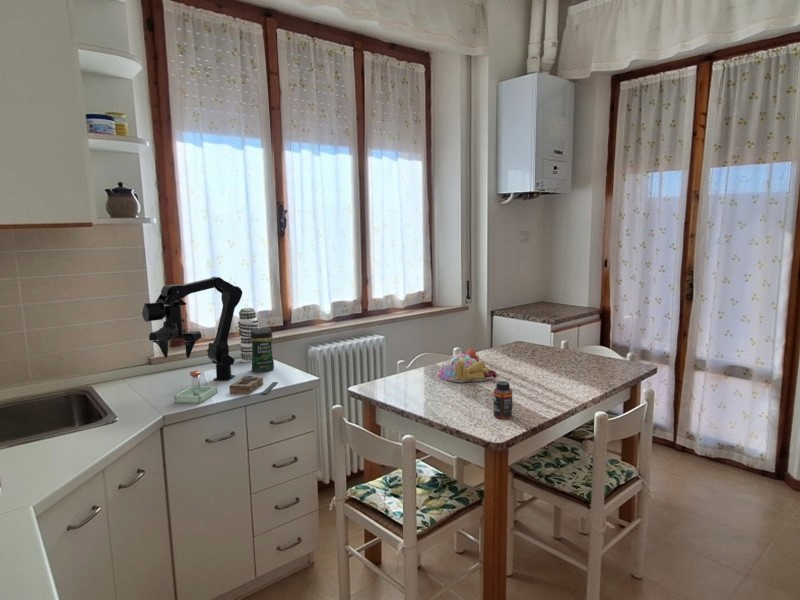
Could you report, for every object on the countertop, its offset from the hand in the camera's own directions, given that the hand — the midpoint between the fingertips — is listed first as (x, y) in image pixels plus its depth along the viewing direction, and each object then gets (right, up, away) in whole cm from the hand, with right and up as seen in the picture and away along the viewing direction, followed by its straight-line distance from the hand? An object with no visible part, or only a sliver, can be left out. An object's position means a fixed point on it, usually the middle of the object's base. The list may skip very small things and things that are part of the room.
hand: (177, 357), depth 190 cm
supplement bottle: (+120, -16, -32) cm, 125 cm away
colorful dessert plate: (+114, -9, +15) cm, 115 cm away
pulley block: (+27, -12, +2) cm, 29 cm away
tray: (+11, -14, -8) cm, 19 cm away
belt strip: (+36, -12, +1) cm, 38 cm away
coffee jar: (+26, -9, +28) cm, 39 cm away
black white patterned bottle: (+15, -7, +45) cm, 48 cm away
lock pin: (+11, -13, -8) cm, 19 cm away
